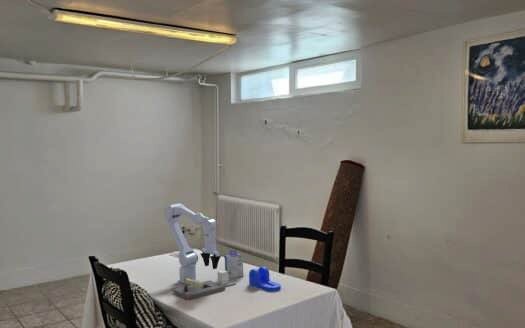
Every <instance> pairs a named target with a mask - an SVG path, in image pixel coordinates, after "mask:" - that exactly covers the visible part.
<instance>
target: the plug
mask: <svg viewBox="0 0 525 328" xmlns="http://www.w3.org/2000/svg"><path fill="white" fill-rule="evenodd" d="M228 274H230V272H228V271H225V269H222V270H219V271H217V278H216V280H217V282H218V284H221V285H225V284H228V281H230V278H228Z"/></svg>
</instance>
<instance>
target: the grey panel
mask: <svg viewBox="0 0 525 328" xmlns="http://www.w3.org/2000/svg"><path fill="white" fill-rule="evenodd" d="M215 282H216V281H212V280H210V279H209V280H205V281H202V282H200V283H203V287H202V288H200V287H197V286H194V285H192V284H188V291H184V286H181V287H177V288H175V289H173V294H175V295H176V296H178V297H181V298H182V299H185V300H187V301H189V300H190V301H191V300H193V299H194V300H195V299H197V298H202V297H204V296H208V295H212V294H215V293H219V291H220V292H222V290H223V291H225V290H226V287H225V286H223V285H221V284H218V283H215Z"/></svg>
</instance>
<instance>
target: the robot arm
mask: <svg viewBox="0 0 525 328" xmlns="http://www.w3.org/2000/svg"><path fill="white" fill-rule="evenodd" d="M163 214H164V217H165V219H166V225H167V226H168V229H169V231H170V233H171V235H172V237H173V239H174V242H175V244H176V247H177V248H178V251H179V252H178V254H177V257H178V263H179V264H180V266H179V270H178V271H179V272H178V273H179V279H178V280H177V281H178V282H180V283H181V284H184V278H188V279H191V280H194V281H197V282H200V280H199V279H197V272H196V270H197V269H196V268H197V267H196V266H197V263H198V262H199V255H198V254H197V252H195V250H194V249H193V248H192V247H190V246H189V244H188V242H187V240H186V238H185V236H184V233H183V231H182V229H181V227H180V224H179V223H178V221H179V219H180V217H181V216H185V217H187V218H189V219H191V220H192V222H193V223H194V224H196V225H197V226H199V227H201V228H202V230H203V233H204V247H202V248H200V249H201V253H200V256H201V258H202V260H203V264H204V266H205V267H208V266H209V265H210V260H211V265H212V270H217V269H218V265H219V262H220V259H221V258H222V256H221V254H220V251H218V249H216V248H217V245H216V243H217V242H216V229H217V227H218V222H217V221H216V219H215V218H210V217H208V216H205V215H203V213H202V212H197V213H196V212H193V211H192V210H190V209H189V208H187V207H186V206H185V205H184V204H182V203H181V202H180V203H179V202H178V203H173V204H167V205H166V206H165V207H164V209H163ZM188 285H190V284H189V283H188Z"/></svg>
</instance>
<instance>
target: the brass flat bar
mask: <svg viewBox="0 0 525 328" xmlns="http://www.w3.org/2000/svg"><path fill="white" fill-rule="evenodd" d="M188 283H189V284H188ZM189 285H194V286H197V287H200V288H202V287H203V283H201V282H200V281H199V282H197V281H194V280H191V279H188V278H184V283H183V287H184V291H188V286H189Z"/></svg>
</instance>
